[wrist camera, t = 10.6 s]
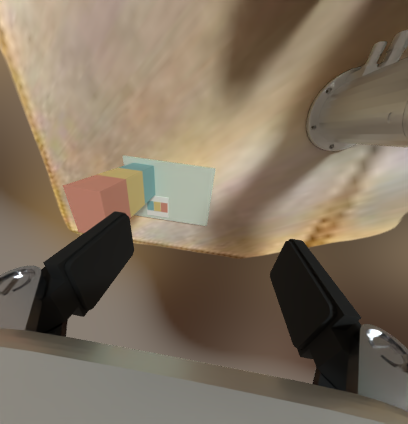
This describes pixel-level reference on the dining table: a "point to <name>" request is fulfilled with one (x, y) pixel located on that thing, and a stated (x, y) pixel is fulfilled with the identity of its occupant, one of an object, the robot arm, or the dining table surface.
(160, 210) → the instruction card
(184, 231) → the dining table surface
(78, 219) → the brick
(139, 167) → the tower base
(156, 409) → the robot arm
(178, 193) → the mat
